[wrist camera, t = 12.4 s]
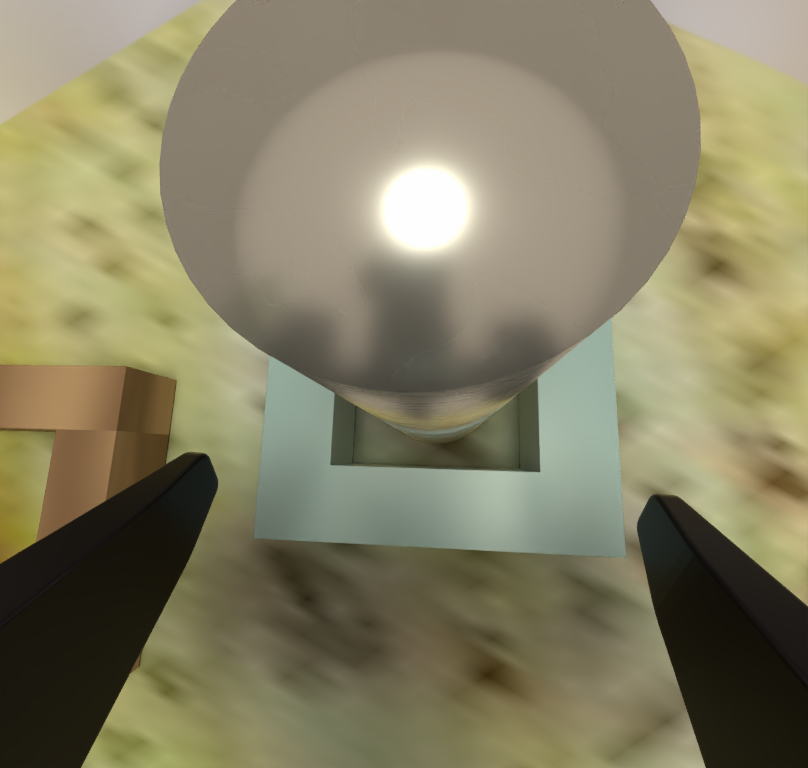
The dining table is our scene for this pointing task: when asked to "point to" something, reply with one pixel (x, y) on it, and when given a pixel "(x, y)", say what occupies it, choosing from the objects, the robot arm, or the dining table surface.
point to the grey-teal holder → (451, 472)
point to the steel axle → (428, 188)
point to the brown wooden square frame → (89, 430)
